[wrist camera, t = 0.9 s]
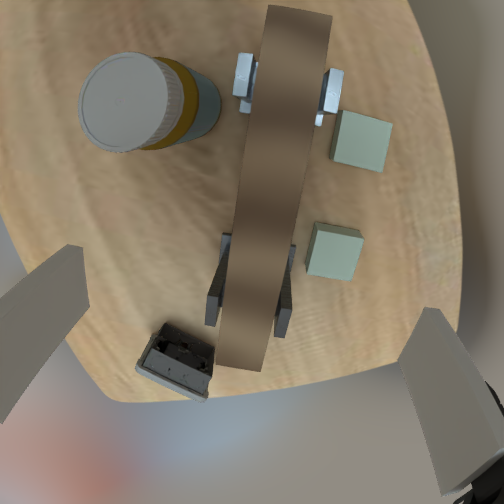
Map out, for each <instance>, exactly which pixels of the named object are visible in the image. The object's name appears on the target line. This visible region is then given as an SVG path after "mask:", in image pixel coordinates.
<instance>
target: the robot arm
mask: <svg viewBox="0 0 504 504" xmlns="http://www.w3.org/2000/svg"><path fill="white" fill-rule="evenodd" d="M89 307H90V305H89V299H88V291H87V284H86V276H85V267H84V256H83V247H78V246H74V245H69V244H67V245H66V246H64V247H63V248H62V249H60V250H59V251H58V252H56V253H55V254H54V255H52V256H51V257H50V258H48V259H47V260H46V261H45V262H43V263H42V264H41V265H40V266H38V267H37V268H36V269H35V270H33V271H32V272H31V273H30V274H28V275H27V276H26V277H25V278H23V279H22V280H21V281H20V282H19V283H17V284H16V285H15V286H14V287H13V288H12V289H11V290H10V291H8V292H7V293H6V294H5V295H4V296H2V297H1V298H0V423H1V424H3V422H4V420H5V419H6V417H7V416H8V414H9V413H10V411H11V410H12V408H13V407H14V406H15V404H16V403H17V401H18V400H19V398H20V397H21V395H22V394H23V393H24V391H25V390H26V388H27V387H28V386H29V384H30V383H31V381H32V380H33V379H34V377H35V376H36V374H37V373H38V372H39V370H40V369H41V368H42V366H43V365H44V364H45V362H46V361H47V360H48V358H49V357H50V356H51V354H52V353H53V352H54V351H55V349H56V348H57V347H58V345H59V344H60V343H61V342H62V340H63V339H64V338H65V337H66V335H67V334H68V333H69V332H70V330H71V329H72V328H73V327H74V325H75V324H76V323H77V322H78V321H79V319H80V318H81V317H82V316H83V314H84V313H85V312H86V311H87V310H88V308H89ZM398 363H399V366H400V368H401V371H402V373H403V376H404V379H405V381H406V384H407V387H408V389H409V392H410V395H411V398H412V401H413V403H414V406H415V409H416V412H417V415H418V418H419V421H420V424H421V427H422V430H423V433H424V436H425V440H426V443H427V446H428V449H429V452H430V456H431V459H432V463H433V467H434V470H435V474H436V478H437V481H438V485H439V488H440V493H441V497H442V496H446V495H449V494H453V493H457V492H459V491H461V490H462V489H464V488H465V487H466V486H467V485H469V484H470V483H471V484H472V488H473V489H471V490H470V491H469V492H467V493H466V494H464V495H463V496H462V497H460V498H459V499H457V500H456V501H455V502H454V503H453V504H459V503H460V502H462V501H463V500H464V502H463V504H504V408H503V406H502V404H500V400H499V398H498V396H497V395H496V393H495V391H494V390H493V389H492V388H491V387H490V386H489V384H488V383H487V382H486V381H484V379H483V377H482V376H481V374H480V372H479V371H478V369H477V367H476V365H475V364H474V362H473V360H472V359H471V357H470V355H469V354H468V352H467V350H466V349H465V348H464V346H463V344H462V342H461V341H460V339H459V338H458V336H457V335H456V333H455V331H454V330H453V328H452V327H451V325H450V324H449V322H448V321H447V319H446V318H445V316H444V315H443V313H442V312H441V311H440V309H436V308H428V307H424V309H423V312H422V314H421V316H420V318H419V320H418V322H417V324H416V326H415V328H414V330H413V332H412V334H411V336H410V338H409V340H408V341H407V343H406V345H405V347H404V349H403V351H402V353H401V354H400V356H399V358H398Z"/></svg>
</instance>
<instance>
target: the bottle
mask: <svg viewBox="0 0 504 504" xmlns="http://www.w3.org/2000/svg"><path fill="white" fill-rule="evenodd" d="M220 113H221V97H220V94H219V91H218V89H217V88H216V86H215V85H214V84H213V82H211V81H210V80H209V79H208V78H206V77H204V76H203V75H201V74H199V73H197V72H196V71H194V70H192V69H190V68H188V67H186V66H184V65H182V64H180V63H179V62H177V61H174V60H171V59H168V58H162V57H150V56H148V55H145V54H142V53H139V52H138V53H137V52H123V53H118V54H115V55H112V56H110V57H108V58H106V59H104V60H103V61H101V62H100V63H99V64H98V65H97V66H95V67H94V69H93V70H92V71H91V72H90V73H89V75H88V76H87V78H86V79H85V81H84V83H83V86H82V88H81V91H80V95H79V100H78V116H79V121H80V124H81V127H82V129H83V131H84V133H85V135H86V136H87V137H88V139H89V140H90V141H91V142H92V143H93V144H95V145H96V146H98V147H99V148H101V149H104V150H106V151H110V152H116V153H117V152H120V153H122V152H128V151H132V150H136V149H141V150H156V149H162V148H165V147H168V146H172V145H175V144H179V143H182V142H186V141H189V140H193V139H196V138H198V137H201V136H203V135H204V134H206V133H207V132H208V131H210V130H211V129H212V128H213V126H214V125H215V124H216V122H217V121H218V118H219V115H220Z"/></svg>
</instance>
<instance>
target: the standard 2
mask: <svg viewBox="0 0 504 504" xmlns="http://www.w3.org/2000/svg"><path fill="white" fill-rule="evenodd" d="M257 67H258V62H256V61H255V58H254V55H253V54H248V53H239V56H238V62H237V68H236V74H235V80H234V86H233V93H232V95H233V96H235V97H237V98H238V99H240V100H241V105H240V111H239V112H242V113H249V114H250V110H251V103H252V97H253V91H254V85H255V79H256V73H257ZM343 75H344V71H341V70H337V69H333V68H330V69H329V70H328V71H327V72H326V73H325V74H324V75H323V81H322V87H321V93H320V98H319V104H318V110H317V116H316V121H315V125H317V126H321V123H322V118H323V115H326V114H337V110H338V104H339V99H340V93H341V87H342V81H343Z"/></svg>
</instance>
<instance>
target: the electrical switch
mask: <svg viewBox="0 0 504 504" xmlns="http://www.w3.org/2000/svg"><path fill="white" fill-rule="evenodd" d="M173 330H174V331H173ZM178 333H179V334H180V335H179V334H178ZM161 336H163V338H162V337H161ZM180 338H181V340H180ZM166 339H167V340H166ZM179 340H180V342H179V343H177V342H178V341H179ZM183 342H186V343H187V344H188V346H187V349H185V348H184V347H182V346H181V344H182V343H183ZM192 344H193V345H192ZM191 345H192V346H191ZM190 346H191V349H190ZM188 349H189V350H188ZM213 349H214V350H213ZM190 350H191V351H190ZM214 352H215V348H214V347H213V346H210V345H208V344H206V343H204V342H202V341H200V340H198V339H196V338H194V337H192V336H190V335H188V334H186V333H184V332H182V331H180V330H178V329H176V328H174V327H172V326H170V325H168V324H167V323H165V324H163V326H162V327H161V330H159V333H158V335H156V334H154V335H151V337H150V340H149V342H148V344H147V346H146V348H145V350H144V352H143V353H142V355H141V357H140V359H138V361H137V363H136V366H135V370H136V371H137V373H139V374H141V375H143V376H145V377H147V378H149V379H151V380H153V381H155V382H157V383H159V384H161V385H163V386H165V387H167V388H169V389H171V390H173V391H175V392H178V393H180V394H182V395H184V396H186V397H189V398H191V399H193V400H195V401H198V402H200V403H202V402H205V401H206V399H207V398H208V395H209V392H207V391H208V383H209V381H210V380H211V378H212V374H213V363H214ZM203 357H204V358H203Z"/></svg>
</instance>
